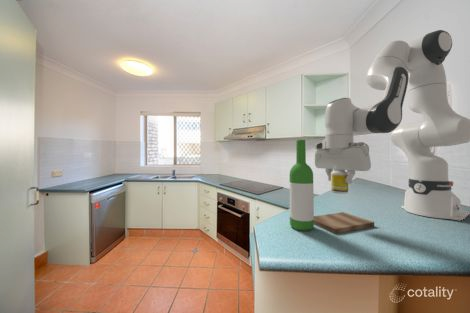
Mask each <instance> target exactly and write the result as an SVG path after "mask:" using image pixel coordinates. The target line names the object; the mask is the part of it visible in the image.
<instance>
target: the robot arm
mask: <svg viewBox="0 0 470 313" xmlns="http://www.w3.org/2000/svg"><path fill="white" fill-rule="evenodd" d="M452 47H453V39H452V36H451V34H450V33H449V32H448V31H446V30H443V29H438V30H434V31H431V32H428V33H427V34H425V35H424V36H422V37H419V38H416V39H414V40H412V41H410V42H409V43H407V42H406V41H403V40H394V41H391V42H389V43H387V44H386V45H385V46H383V47H382V48H381V50H380V51H379V52H378V53H377V54H376V56H375V57H374V59H373V60H372V62H371V64H370V65H369V68H368V69H367V71H366V75H365V81H366V83H367V85H368V86H369V87H370V88H372V89H373V90H378V91H384V93H383V95H382V98H381V99H380V100H379V101H378V102H375V103H373V104H372V105H368V106H365V107H362V108H360V107H358V106H356V105H354V104H353V103H352V99H351V98H350V97H342V98H338V99H334V100H332V101H330V102H329V103H328V104H327V105H326V108H325V111H324V112H325V113H324V114H325V115H324V125H325V129H326V131H325V134H324V135H325V136H324V138H325V139H323V140H322V141H320V142H318V143H316V144H315V145H314V149H315V153H314V166H315V168H316V169H323V170H324V169H325V174H326V175H327V177H328V178H327V179H328V182H331V172H332V171H334V169H333V167H334V166H337V167H338V169H339V170H345V171H346V172H347V173H348V176H347V178H344V180H345V181H344V182H345V183H347V184H348V185H350V184H352V183H353V178H354V177H355V175H356V171H357V172H368V171H370V169H371V168H372V163H371V157H370V156H371V155H370V146H369V145H368V144H367V143H365V142H364V141H359V142H354V136H355V137H356V136H366V135H371V134H389V133H391V135H390V139H391V140H390V141H391V142H392V144H393V145H394V146H396V147H398V148H399V149H400V150H401V151H402V152H403V153H404V154H405V156H406V158H407V160H408V166H409V179H408V181H407V182H408V183H407V184H408V189H407V190H405V194H404V203H403V205H401V206H400V208H401V209H403V210H404V211H406V212H408V213H410V214H414V215H418V216H422V217H428V218H435V219H442V220H443V219H445V220H454V221H461V220H462V221H464V220H465V219H467V218H468V217H469V216H470V215H469V214H470V211H467V210H462V204H461V203H462V202H461V199H460V198H459V197H457V195H456V194H454V192H453V191H452V187H453V186H454V181H451V180H450V181H449V164H448V162H447V160H446V159H444V158H442V157H440V156H438V155H435V154H434V153H433V152H432V150H431V148H436V147H437V148H438V147H450V146H451V147H452V146H457V145H463V144H468V143H470V118H468V117H465V116H463V115H461V114H458V113H457V112H456V111H454V110H453V108H452V107H451V105H450V103H449V99H448V98H449V97H448V91H447V90H448V89H447V88H448V87H447V86H448V84H447V76H446V75H447V74H446V70H445V67H444V64H443V63H444V61H445V60H446V57H447V56H448V55H449V54H450V52H451V50H452ZM409 74H410V76H409ZM407 90H408V108H409V110H411V112H413V113H416V114H420V115H422V116H423V117H424V121H418V122H413V123H407V124H404V125H401V126H399V125H400V124H401V122H402V120H403V105H404V101H405V97H406V94H407ZM468 215H469V216H468ZM467 216H468V217H467ZM466 217H467V218H466ZM463 219H464V220H463Z"/></svg>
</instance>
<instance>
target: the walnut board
mask: <svg viewBox="0 0 470 313" xmlns="http://www.w3.org/2000/svg"><path fill="white" fill-rule="evenodd" d="M314 226H317V227H318V228H322V229H324V230H326V231H327V232H329V233H332V234H334V235H335V234H336V235H337V234H343V233H347V232H352V231H357V230H363V229H369V228H372V227H373V228H374V227H375V221H373V220H369V219H366V218H362V217H359V216H356V215H353V214H350V213H348V212H345V211H343V212H342V211H340V212H334V213H328V214H322V215H320V214H319V215H314Z"/></svg>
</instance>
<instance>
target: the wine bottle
mask: <svg viewBox="0 0 470 313" xmlns="http://www.w3.org/2000/svg"><path fill="white" fill-rule="evenodd" d="M295 143H296V148H295V149H296V151H295V152H296V157H295V158H296V163H295V164H294V165H292V167H291V168H290V170H289V225H290V227H291V228H293V229H295V230H298V231H303V232H304V231H306V232H308V231H311V230H313V228H314V226H315V224H314V216H315V215H314V214H315V212H314V211H315V210H314V207H315V206H314V205H315V204H314V203H315V202H314V199H315V198H314V195H315V194H314V193H315V192H314V172H313V169H312V168H311V166H310V165H309V164H308V163H307V162H306V161H307V159H306V158H307V157H306V151H307V150H306V140H305V139H296V142H295Z"/></svg>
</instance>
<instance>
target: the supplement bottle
mask: <svg viewBox="0 0 470 313" xmlns="http://www.w3.org/2000/svg"><path fill="white" fill-rule="evenodd" d="M347 176H348V173H347V170H339V169H338V167H337V166H334V167H333V171H332V172H331V181H330V192H331V193H334V194H340V195H342V194H344V195H345V194H348V193H349V184H347V183H345V182H344V181H345V180H344V178H347Z"/></svg>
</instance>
